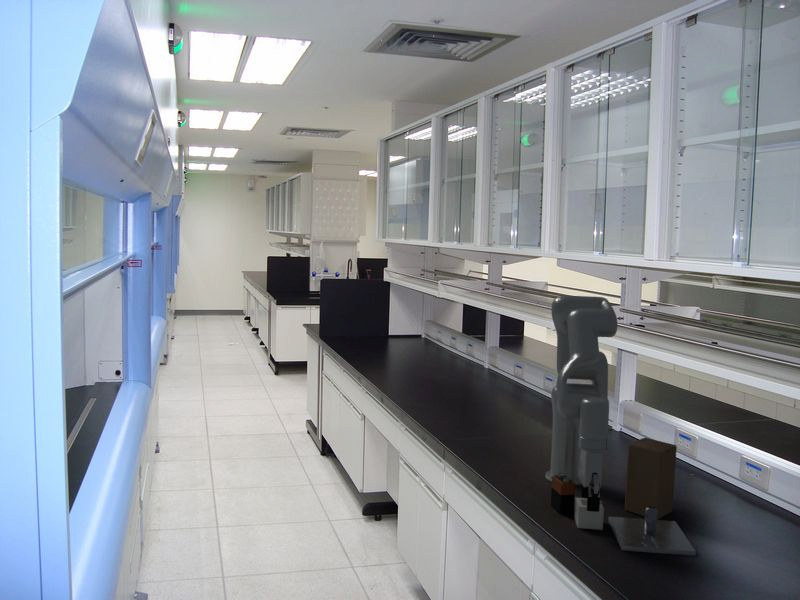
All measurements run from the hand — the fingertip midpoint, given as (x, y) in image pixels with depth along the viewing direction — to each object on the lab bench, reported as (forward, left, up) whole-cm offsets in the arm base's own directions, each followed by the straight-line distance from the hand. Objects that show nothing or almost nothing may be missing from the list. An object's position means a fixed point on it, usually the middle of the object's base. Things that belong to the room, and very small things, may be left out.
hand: (589, 504), depth 189 cm
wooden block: (-13, +19, -6) cm, 24 cm away
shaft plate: (+5, +15, -6) cm, 17 cm away
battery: (-10, -6, -6) cm, 13 cm away
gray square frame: (-1, 0, -6) cm, 6 cm away
